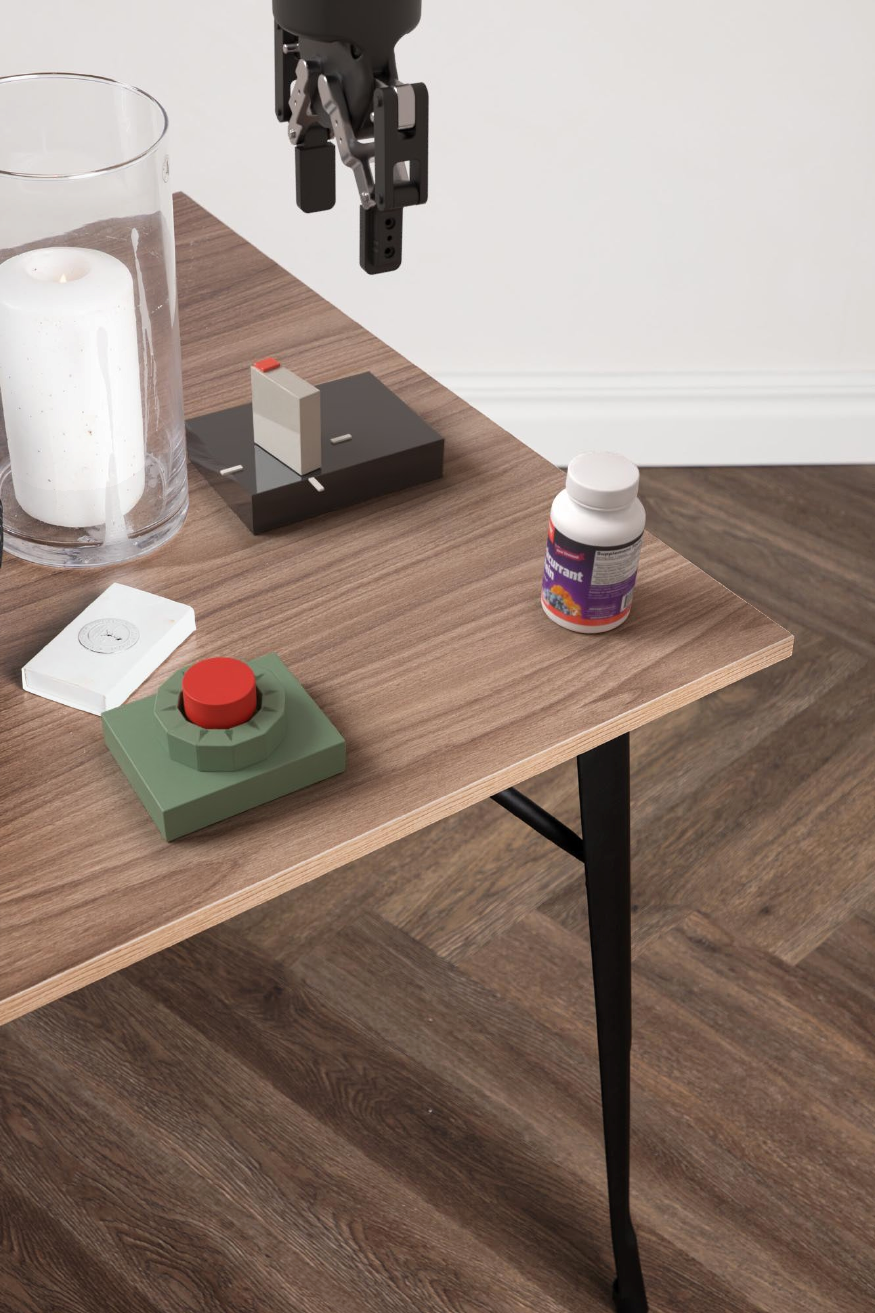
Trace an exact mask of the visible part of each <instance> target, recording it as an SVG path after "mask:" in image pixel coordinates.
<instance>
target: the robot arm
mask: <svg viewBox="0 0 875 1313" xmlns="http://www.w3.org/2000/svg"><path fill="white" fill-rule="evenodd" d="M422 1H423V0H271V10H272V16H273V43H274V44H273V46H274V50H273V51H274V52H273V53H274V58H273V59H274V113H275V116H276V120H277V122H278V123H280V124H283V123H287V137H288V140H289V142H290V145H292V146H294V170H295V172H294V173H295V205H296V206H297V207H298V209H300V210H301V212H303V213H304V214H313V213H320V212H325V211H330V210H332V209H333V208H334V207H335V206H336V203H337V184H336V183H337V180H336V179H337V178H336V176H337V174H336V172H337V169H336V167H337V166H336V159H337V158H336V157H337V156H336V152H337V151H336V145H337V150H338V153H339V156H340V157H339V158H340V161H341V163H342V164H343V165H344V166H345V167H347V168H350V169H351V170H352V172H353V174H354V175H353V176H354V180H355V183H356V187H357V192H358V195H359V199H360V203H361V204H359V245H358V246H359V250H358V251H359V257H358V258H359V259H358V260H359V262H358V263H359V267H360V268H361V269H362V270H363V271H364V272H365V273H366V274H368V275H369V276H375V275H378V274H384V273H389V272H395V271H396V270H398V269H399V268H400V267H401V265H402V262H403V224H404V222H403V221H404V208H407V207H412V206H421V205H425V204H427V202H428V199H429V132H430V131H429V130H430V129H429V127H430V126H429V122H430V120H429V119H430V118H429V116H430V112H429V111H430V109H429V108H430V96H429V89H428V87H427V85H426V83H425V82H423V81H421V82H413V83H409V82H407V83H404V82H402V81H400V80H399V74H398V69H397V61H396V52H395V47H396V45H397V44H398V42H399V41H400V40H401V39H402V38H403V37H404V36H406V35H408V34H411V33H412V32H413V31H414V30H415V29H416V28H417V27H418V25H419V24H420V21H421V19H422V8H423V7H422V6H423V5H422V4H423V2H422ZM294 81H295V82H294ZM293 82H294V86H293V89H292V87H291V86H292V83H293ZM291 90H292V92H291ZM334 139H335V141H336V145H335V144H334V142H332V141H331V140H334ZM369 139H373V141H371V142H360V141H361V140H362V141H363V140H369ZM405 162H408V164H409V166H408V167H409V169H408V170H409V172H408V171H407V167H406V163H405ZM370 164H374V176H373V173H372V168H371V165H370ZM408 173H409V174H408Z"/></svg>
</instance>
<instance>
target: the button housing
mask: <svg viewBox="0 0 875 1313" xmlns="http://www.w3.org/2000/svg"><path fill="white" fill-rule="evenodd" d="M235 659H236V660H239V661H241V662H243V663H245V664H247V665H248V666H249V667H250V668H251V669H252V671H253V673H254V675H255V682H256V700H257V706H256V710H255V713H254V714H253V716H252V717H251V718H250V719H249V720H248V721H247V722H245V723H244V724H241V725H239V726H236V727H233V728H230V729H205V728H202V727H199V726H197V725H196V724H194V723H193V722H192V721H190V719H189V718H188V717H187V715H186V713H185V707H184V698H183V688H182V680H183V677H184V675H185V673H186V672H187V670H188V669H189V668H190V667H192V666H193V665H194V664H196V663H197V662H195V663H192V664H189V665H186V666H183V667H181V668H178V669H177V670H176V671H175V672H173V673H172V674H171V675H170V677H168V678H167V679H166V680H165V681H164V682H163V683H162V684H161V685H160V686H158V687H157V690H156V692H155V693H154V694H151V695H148V696H145V697H142V698H139V699H136V700H134V701H131V702H128V703H125V704H122V705H120V706H117V707H114V708H111V709H108V710H105V711H102V712H100V718H101V725H102V732H103V738H104V743H105V745H106V747H107V749H108V750H109V752H110V753H111V755H112V757H113V758H114V759H115V762H116V763H117V764H118V766H119V768H120V769H121V771H122V773H123V775H124V776H125V778H126V779H127V781H128V783H129V784H130V786H131V788H132V789H133V790H134V792H135V794H136V795H137V797H138V799H139V801H140V802H141V804H142V805H143V806H144V808H145V811H147V813H148V815H149V816H150V818H151V819H152V821H153V823H154V824H155V826H156V828H157V829H158V831H159V832H160V834H161V835H162V837H163V839H164V840H165V842H166V843H169V842H171V841H174V840H176V839H179V838H181V837H184V836H186V835H188V834H192V833H194V832H197V831H198V830H201V829H204V828H206V827H209V826H211V825H214V824H216V823H218V822H221V821H225V820H226V819H229V818H232V817H234V816H236V815H239V814H241V813H244V812H246V811H249V810H252V809H254V808H257V807H259V806H262V805H264V804H266V803H269V802H272V801H274V800H276V799H279V798H281V797H284V796H286V795H289V794H291V793H294V792H296V791H299V790H302V789H305V788H306V787H309V786H312V785H314V784H316V783H319V782H321V781H324V780H326V779H329V778H331V777H334V776H337V775H339V774H342V773H344V772H346V770H347V742H346V741H347V740H346V739H345V738H344V737H343V736H342V734H341V733H340V732H339V731H338V729H337V727H335V726H334V724H333V723H332V722H331V720H330V719H329V718H328V717H327V715H326V714H325V713H324V711H323V710H322V709H321V707H319V706H318V704H317V702H315V700H314V699H313V698H312V696H311V695H310V694H309V693H308V692H307V690H306V689H305V688H304V687H303V685H302V684H301V683H300V682H299V680H298V679H297V677H296V676H294V674H293V673H292V672H291V670H290V669H289V668H288V667H287V666H286V664H285V663H284V661H283V660H282V659H281V658H280V656H279V655H278V654H277V653H276V652H275V651H273V652H271V653H268V654H265V655H261V656H258V657H256V658H253V659H250V660H247V659H242V658H235Z"/></svg>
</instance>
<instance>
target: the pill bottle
mask: <svg viewBox="0 0 875 1313" xmlns="http://www.w3.org/2000/svg"><path fill="white" fill-rule="evenodd" d="M640 475H641V474H640V470H639V467H638V466H637V465H636V464H635V463H634V461H633V460H631V459H629V458H628V457H626V456H624V455H622V454H619V453H615V452H611V451H602V450H594V451H589V452H583V453H581V454H579V455H576V456H575V457H574V458H572V459H571V461H569V463H568V466H567V471H566V479H565V488H563V490H561V491H559V493H558V494H557V495H556V496H555V498H554V500H553V501H552V504H551V507H550V513H549V514H550V515H549V522H548V523H549V524H548V531H547V540H546V548H545V556H544V565H543V572H542V573H543V574H542V582H541V590H540V603H541V606H542V609H543V611H544V613H545V614H546V616H547V617H548V618H549V619H550V620H551V621H552V622H554V623H555V624H556V625H558V626H560V627H561V628H564V629H566V630H569V631H573V632H576V633H581V634H582V633H583V634H598V633H604V632H608V631H611V630H613V629H615V628H616V629H617V627H619V626H621V625H622V624H623V623H624V622H625V621H626V619H627V618H628V616H629V615H630V612H631V608H632V603H633V598H634V592H635V588H636V581H637V575H638V569H639V564H640V558H641V551H642V546H643V540H644V534H645V527H646V519H647V518H646V517H647V515H646V510H645V507H644V505H643V503H642V502H641V500H640V499H639V497H638V492H639V484H640Z"/></svg>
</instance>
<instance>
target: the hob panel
mask: <svg viewBox="0 0 875 1313" xmlns="http://www.w3.org/2000/svg"><path fill="white" fill-rule="evenodd" d="M313 386H314V387H315V388H317V389H318V390H320V413H321V467H320V468H318V469H316V470H313V471H311V472H309V473H306V474H304V475H300V474H299V473H297V472H296V471H294V470H293V469H292V468H290V467H289V466H287V465H286V464H285V463H283V462H282V461H280V460H279V459H278V458H276V457H275V456H273V455H272V454H270V453H269V452H268V451H266V450H265V449H263V448H262V447H261V446H259V445H258V444H256V443H255V442H254V426H253V407H252V401H251V402H247V403H244V404H240V405H236V406H232V407H229V408H225V409H221V410H218V411H214V412H209V413H206V414H202V415H199V416H195V417H191V418H188V419H184V430H185V441H186V452H187V459H188V460H189V461H190V463H191V464H192V465H193V466H194V468H195V469H196V470H197V471H198V472H199V473H200V474H201V476H202V477H203V478H204V479H205V480H206V481H207V483H208V484H209V485H210V486H211V487H212V488H213V490H214V491H215V492H216V493H217V494H218V495H219V497H220V498H221V499H222V500H223V501H224V502H225V503H226V505H227V506H228V507H229V508H230V509H231V510H232V511H233V513H234V514H235V515H236V516H237V517H238V518H239V519H240V521H241V522H242V524H244V526H246V528H247V529H248V530H249V531H250V532H251V533H252V534H253V536H254V535H258V534H261V533H262V534H263V533H265V532H267V531H270V530H274V529H278V528H280V527H284V526H287V525H290V524H294V523H296V522H300V521H303V520H307V519H309V518H313V517H317V516H320V515H323V514H325V513H329V512H333V511H335V510H339V509H342V508H346V507H348V506H352V505H355V504H358V503H361V502H365V501H368V500H372V499H374V498H377V497H381V496H384V495H387V494H388V495H389V494H390V493H394V492H396V491H400V490H404V489H407V488H410V487H413V486H417V485H420V484H422V483H426V482H430V481H432V480H436V479H439V478H443V477H444V461H445V445H446V444H445V442H446V438H445V437H444V436H443V435H442V434H441V433H440V432H439V431H437V429H435V428H434V427H433V426H431V424H430V423H429V422H427V421H426V420H425V419H424V417H421V416H420V415H419V414H418V413H417V412H416V411H415V410H413V408H412V407H410V406H409V405H408V404H407V403H406V402H405V401H404V400H403V399H402V398H400V397H399V396H398V395H397V394H396V393H395V392H394V391H393V390H392V389H391V388H389V387H388V386H387V385H386V384H384V382H382V381H381V380H380V379H379V378H378V377H376V375H375V374H373V373H372V371H369V370H368V371H364V372H361V373H357V374H353V375H349V376H346V377H342V378H338V379H334V380H330V381H326V382H323V383H319V384H316V385H313Z"/></svg>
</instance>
